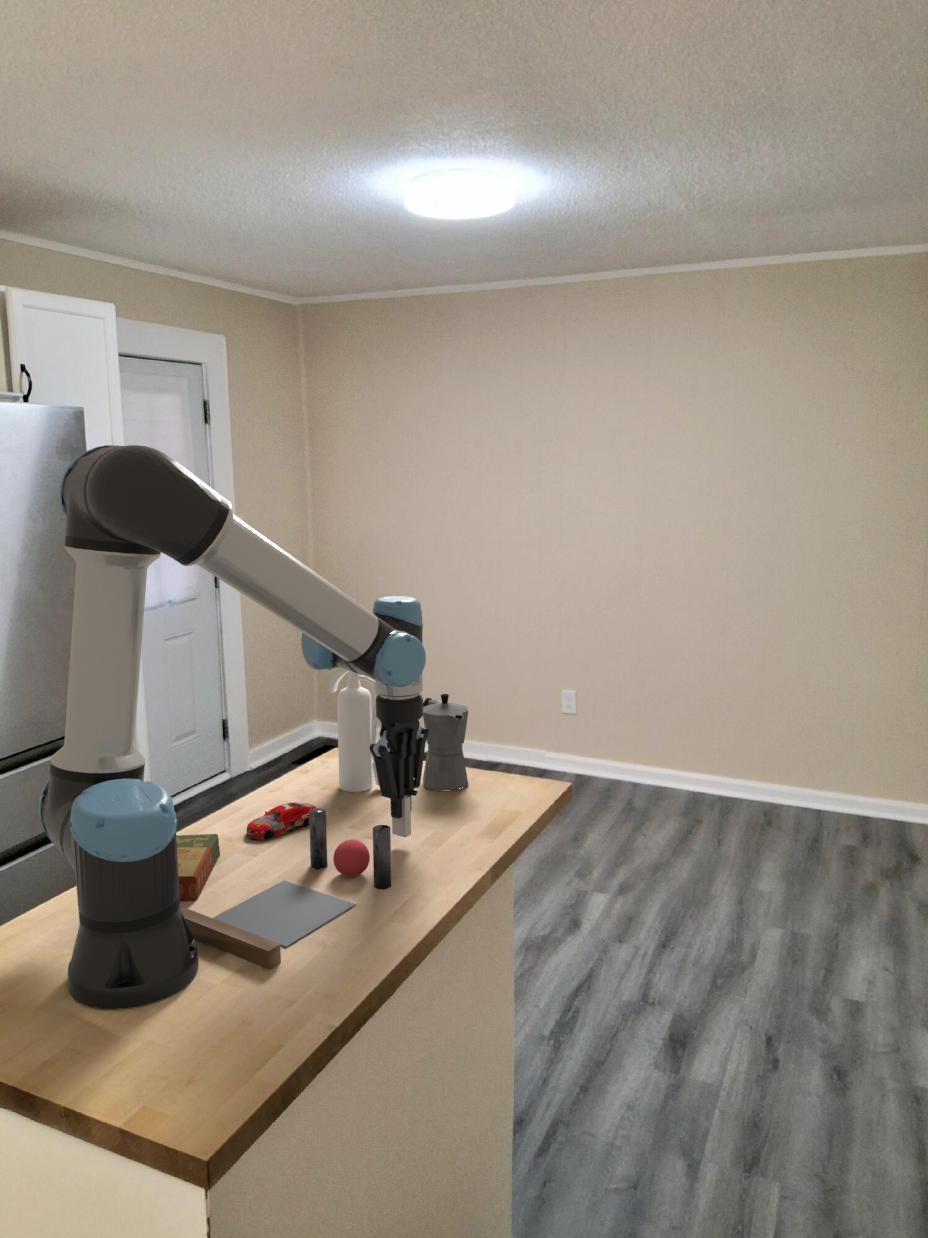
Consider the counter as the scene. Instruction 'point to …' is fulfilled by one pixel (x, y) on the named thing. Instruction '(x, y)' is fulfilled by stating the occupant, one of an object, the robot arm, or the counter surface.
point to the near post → (382, 857)
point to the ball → (351, 858)
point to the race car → (280, 821)
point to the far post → (318, 838)
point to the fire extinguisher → (355, 732)
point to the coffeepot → (445, 744)
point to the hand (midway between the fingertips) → (401, 834)
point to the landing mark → (285, 912)
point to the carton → (195, 863)
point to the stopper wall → (233, 940)
